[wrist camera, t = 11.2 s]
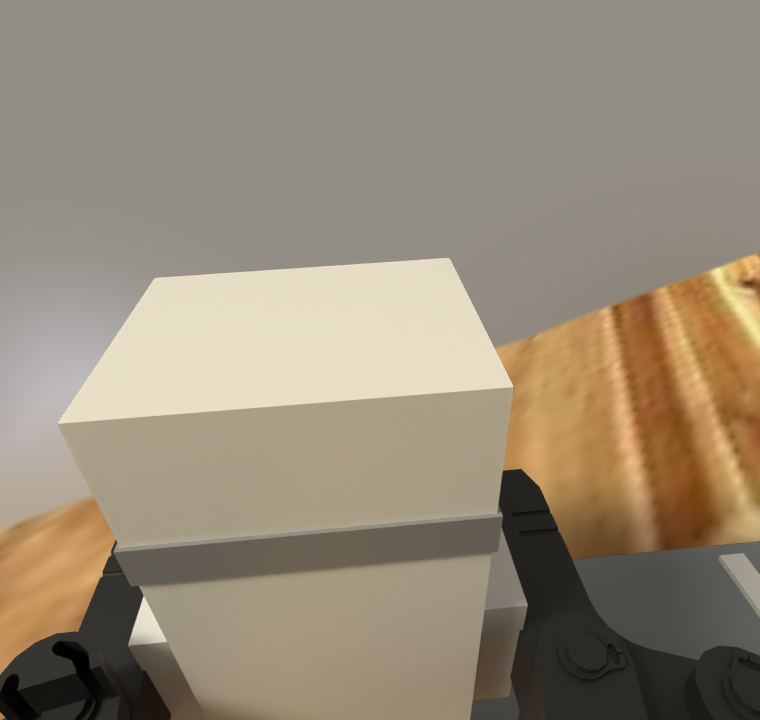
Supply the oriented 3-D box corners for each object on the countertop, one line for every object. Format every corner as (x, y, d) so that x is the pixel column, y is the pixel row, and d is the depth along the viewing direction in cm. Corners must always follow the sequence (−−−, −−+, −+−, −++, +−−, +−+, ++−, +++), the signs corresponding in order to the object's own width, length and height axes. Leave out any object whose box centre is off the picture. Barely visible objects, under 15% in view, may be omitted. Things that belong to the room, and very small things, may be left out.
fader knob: (434, 678, 14) (451, 257, 7) (458, 829, 11) (521, 390, 5) (280, 695, 14) (152, 277, 7) (269, 852, 11) (48, 427, 4)
